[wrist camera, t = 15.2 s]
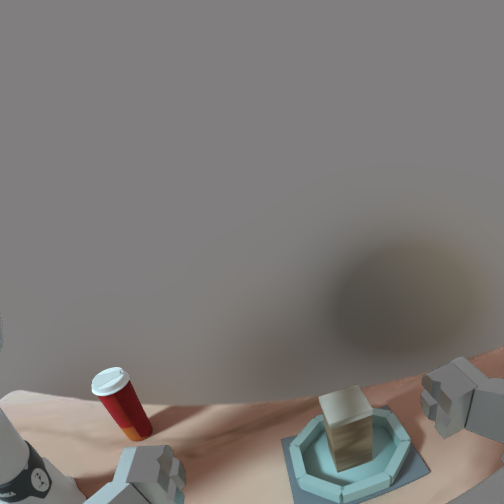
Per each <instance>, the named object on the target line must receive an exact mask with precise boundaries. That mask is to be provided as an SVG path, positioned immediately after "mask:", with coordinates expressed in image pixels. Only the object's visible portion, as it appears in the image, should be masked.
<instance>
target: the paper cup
mask: <svg viewBox="0 0 504 504" xmlns="http://www.w3.org/2000/svg"><path fill="white" fill-rule="evenodd" d="M129 378H130V377H129V375H128V373H127V372H125V371H124V370H123V369H122V368H119V367H114V368H109V369H106V370H104V371H102V372H100V373H99V374H97V375H96V377H95V378H94V379H93V381H92V392H93V393H94V394H96V395H97V396H98V397H99V399H100V400H101V402H102V403H103V405H104V406H105V408H106V409H107V410H108V412H109V413H110V415H111V416H112V417H113V419H114V420H115V421H116V423H117V424H118V425H119V427H120V428H121V429H122V430H123V432H124V433H125V434H126V435H127V437H128V438H129V439H130V440H132V441H141V440H144V439H146V438H147V437H149V436H150V434H151V433H152V426H151V423H150V421H149V419H148V417H147V415H146V413H145V411H144V409H143V407H142V405H141V403H140V401H139V399H138V397H137V395H136V393H135V390H134V388H133V386H132V384H131V382H130V380H129Z"/></svg>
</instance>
